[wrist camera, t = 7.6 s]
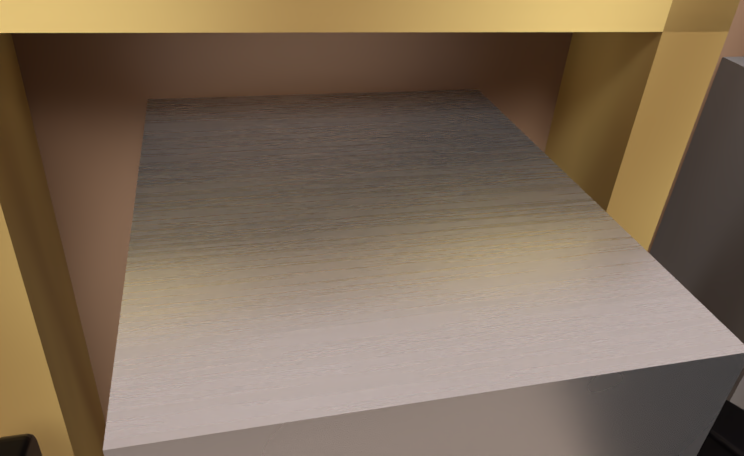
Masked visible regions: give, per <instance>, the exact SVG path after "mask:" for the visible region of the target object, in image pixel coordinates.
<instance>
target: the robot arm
mask: <svg viewBox="0 0 744 456" xmlns="http://www.w3.org/2000/svg"><path fill="white" fill-rule="evenodd" d="M0 456H42V453H41V450H40V447H39V444H38V441H37V439H36V437H35V436H34V435H33V434H28V433H27V434H19V435H12V436H5V437H0ZM697 456H744V409H742V408H740V407H738V406H737V405H735V404H733V403H732V402H730V401H728V400H726V401H725V403H724V405H723V407H722V409H721V411H720V412H719V414H718V416H717V418H716V420H715V422H714V424H713V426H712V428H711V429H710V431H709V433H708V435H707V437H706V439H705V441H704V443H703V444H702V446H701V448H700V450H699V452H698V454H697Z"/></svg>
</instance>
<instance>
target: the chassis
mask: <svg viewBox="0 0 744 456" xmlns="http://www.w3.org/2000/svg"><path fill="white" fill-rule="evenodd" d="M470 89H478V90H479V91H480V92H481V93H482V94H483V95H484V96H485V97H486V98H488V99H489V100H490V101H491V102H492V103H493V104H494V105H495V106H496V107H497V108H498V109H499V110H500V111H501V112H502V113H503V114H504V115H505V116H506V117H507V118H508V119H509V120H510V121H512V122H513V123H514V124H515V125H516V126H517V127H518V128H519V129H520V130H521V131H522V132H523V133H524V134H525V135H526V136H527V137H528V138H529V139H530V140H531V141H532V142H533V143H534V144H536V145H537V146H538V147H539V148H540V149H541V150H542V151H543V152H544V153H545V154H546V155H547V156H548V157H549V158H550V159H551V160H552V161H553V162H554V163H555V164H556V165H557V166H559V167H560V168H561V169H562V170H563V171H564V172H565V173H566V174H567V175H568V176H569V177H570V178H571V179H572V180H573V181H574V182H575V183H576V184H577V185H578V186H579V187H580V188H581V189H583V190H584V191H585V192H586V193H587V194H588V195H589V196H590V197H591V198H592V199H593V200H594V201H595V202H596V203H597V204H598V205H599V206H600V207H601V208H602V209H603V210H604V211H605V212H607V213H608V214H609V215H610V216H611V217H612V218H613V219H614V220H615V221H616V222H617V223H618V224H619V225H620V226H621V227H622V228H623V229H624V230H625V231H626V232H627V233H628V234H630V235H631V236H632V237H633V238H634V239H635V240H636V241H637V242H638V243H639V244H640V245H641V246H642V247H643V248H644V249H645V250H646V251H647V252H648V253H649V254H650V255H651V256H652V257H654V258H655V259H656V260H657V261H658V262H659V263H660V264H661V265H662V266H663V267H664V268H665V269H666V270H667V271H668V272H669V273H670V274H671V275H672V276H673V277H674V278H675V279H676V280H678V281H679V282H680V283H681V284H682V285H683V286H684V287H685V288H686V289H687V290H688V291H689V292H690V293H691V294H692V295H693V296H694V297H695V298H696V299H697V300H698V301H699V302H701V303H702V304H703V305H704V306H705V307H706V308H707V309H708V310H709V311H710V312H711V313H712V314H713V315H714V316H715V317H716V318H717V319H718V320H719V321H720V322H721V323H722V324H723V325H725V326H726V327H727V328H728V329H729V330H730V331H731V332H732V333H733V334H734V335H735V336H736V337H737V338H738V339H739V340H740V341H741V342H742V343H743V344H744V0H0V437H5V436H12V435H19V434H27V433H28V434H33V435H34V436H35V437H36V439H37V441H38V444H39V447H40V450H41V453H42V456H104V454H103V444H104V436H105V428H106V421H107V413H108V405H109V397H110V389H111V382H112V374H113V366H114V358H115V351H116V343H117V335H118V327H119V320H120V312H121V304H122V296H123V289H124V281H125V273H126V265H127V257H128V250H129V242H130V234H131V226H132V219H133V211H134V203H135V195H136V188H137V180H138V172H139V164H140V157H141V149H142V141H143V133H144V126H145V118H146V110H147V102H148V99H167V98H201V97H234V96H268V95H301V94H335V93H369V92H402V91H436V90H470ZM726 400H728V401H730V402H732V403H733V404H735V405H737V406H738V407H740V408H742V409H744V367H743V369H742V371H741V373H740V375H739V377H738V379H737V380H736V382H735V384H734V386H733V388H732V390H731V392H730V394H729V396H728V397H727V399H726Z"/></svg>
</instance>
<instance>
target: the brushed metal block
mask: <svg viewBox="0 0 744 456" xmlns="http://www.w3.org/2000/svg"><path fill="white" fill-rule="evenodd" d="M743 367H744V344H743V343H742V342H741V341H740V340H739V339H738V338H737V337H736V336H735V335H734V334H733V333H732V332H731V331H730V330H729V329H728V328H727V327H726V326H725V325H723V324H722V323H721V322H720V321H719V320H718V319H717V318H716V317H715V316H714V315H713V314H712V313H711V312H710V311H709V310H708V309H707V308H706V307H705V306H704V305H703V304H702V303H701V302H699V301H698V300H697V299H696V298H695V297H694V296H693V295H692V294H691V293H690V292H689V291H688V290H687V289H686V288H685V287H684V286H683V285H682V284H681V283H680V282H679V281H678V280H676V279H675V278H674V277H673V276H672V275H671V274H670V273H669V272H668V271H667V270H666V269H665V268H664V267H663V266H662V265H661V264H660V263H659V262H658V261H657V260H656V259H655V258H654V257H652V256H651V255H650V254H649V253H648V252H647V251H646V250H645V249H644V248H643V247H642V246H641V245H640V244H639V243H638V242H637V241H636V240H635V239H634V238H633V237H632V236H631V235H630V234H628V233H627V232H626V231H625V230H624V229H623V228H622V227H621V226H620V225H619V224H618V223H617V222H616V221H615V220H614V219H613V218H612V217H611V216H610V215H609V214H608V213H607V212H605V211H604V210H603V209H602V208H601V207H600V206H599V205H598V204H597V203H596V202H595V201H594V200H593V199H592V198H591V197H590V196H589V195H588V194H587V193H586V192H585V191H584V190H583V189H581V188H580V187H579V186H578V185H577V184H576V183H575V182H574V181H573V180H572V179H571V178H570V177H569V176H568V175H567V174H566V173H565V172H564V171H563V170H562V169H561V168H560V167H559V166H557V165H556V164H555V163H554V162H553V161H552V160H551V159H550V158H549V157H548V156H547V155H546V154H545V153H544V152H543V151H542V150H541V149H540V148H539V147H538V146H537V145H536V144H534V143H533V142H532V141H531V140H530V139H529V138H528V137H527V136H526V135H525V134H524V133H523V132H522V131H521V130H520V129H519V128H518V127H517V126H516V125H515V124H514V123H513V122H512V121H510V120H509V119H508V118H507V117H506V116H505V115H504V114H503V113H502V112H501V111H500V110H499V109H498V108H497V107H496V106H495V105H494V104H493V103H492V102H491V101H490V100H489V99H488V98H486V97H485V96H484V95H483V94H482V93H481V92H480V91H479V90H478V89H470V90H436V91H402V92H369V93H335V94H301V95H268V96H234V97H201V98H167V99H148V102H147V110H146V118H145V126H144V133H143V141H142V149H141V157H140V164H139V172H138V180H137V188H136V195H135V203H134V211H133V219H132V226H131V234H130V242H129V250H128V257H127V265H126V273H125V281H124V289H123V296H122V304H121V312H120V320H119V327H118V335H117V343H116V351H115V358H114V366H113V374H112V382H111V389H110V397H109V405H108V413H107V421H106V428H105V436H104V444H103V454H104V456H697V454H698V452H699V450H700V448H701V446H702V444H703V443H704V441H705V439H706V437H707V435H708V433H709V431H710V429H711V428H712V426H713V424H714V422H715V420H716V418H717V416H718V414H719V412H720V411H721V409H722V407H723V405H724V403H725V401H726V399H727V397H728V396H729V394H730V392H731V390H732V388H733V386H734V384H735V382H736V380H737V379H738V377H739V375H740V373H741V371H742V369H743Z"/></svg>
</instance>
